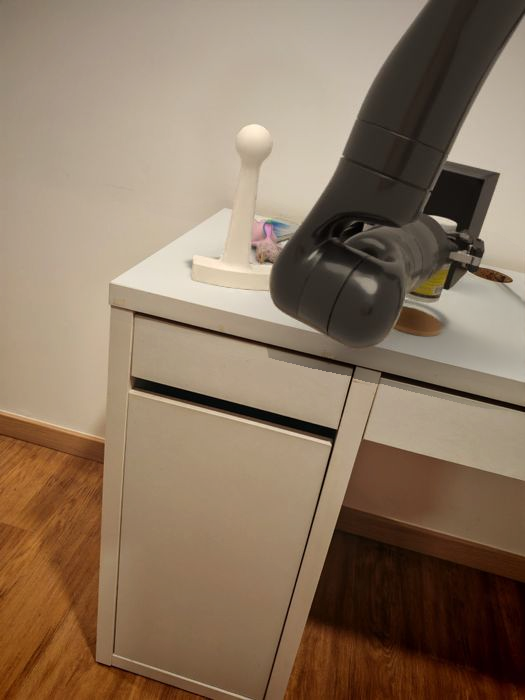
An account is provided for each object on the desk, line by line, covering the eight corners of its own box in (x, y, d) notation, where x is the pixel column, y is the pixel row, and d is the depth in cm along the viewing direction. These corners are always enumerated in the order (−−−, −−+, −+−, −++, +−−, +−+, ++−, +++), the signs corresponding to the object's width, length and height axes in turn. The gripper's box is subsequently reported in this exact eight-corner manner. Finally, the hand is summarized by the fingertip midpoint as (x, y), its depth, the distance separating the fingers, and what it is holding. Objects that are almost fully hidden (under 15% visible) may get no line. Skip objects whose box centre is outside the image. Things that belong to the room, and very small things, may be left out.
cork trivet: (428, 313, 80) (430, 309, 80) (450, 339, 73) (451, 335, 73) (372, 306, 79) (374, 302, 79) (389, 332, 72) (390, 327, 72)
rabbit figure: (287, 276, 88) (272, 231, 100) (296, 240, 84) (280, 198, 96) (246, 272, 87) (236, 227, 98) (254, 235, 83) (242, 193, 95)
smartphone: (311, 228, 107) (267, 240, 95) (310, 233, 107) (266, 245, 95) (278, 217, 110) (232, 227, 98) (277, 221, 110) (231, 232, 98)
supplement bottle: (392, 284, 76) (414, 210, 72) (432, 291, 77) (456, 218, 72) (400, 299, 72) (424, 220, 67) (443, 307, 72) (469, 229, 68)
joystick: (190, 282, 75) (210, 118, 67) (192, 263, 82) (210, 111, 73) (275, 293, 77) (305, 134, 68) (269, 273, 84) (296, 126, 75)
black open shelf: (448, 290, 91) (485, 179, 83) (322, 249, 99) (345, 145, 92) (466, 272, 101) (500, 173, 94) (351, 237, 110) (373, 143, 102)
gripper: (484, 238, 55) (511, 217, 68) (344, 198, 60) (395, 186, 74) (458, 312, 58) (489, 277, 72) (328, 267, 63) (380, 243, 77)
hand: (441, 231), depth 73 cm, fingers closed on supplement bottle, 5 cm apart
